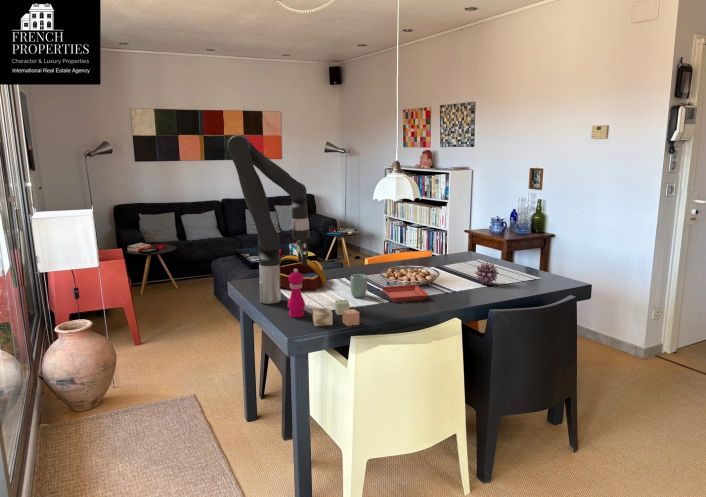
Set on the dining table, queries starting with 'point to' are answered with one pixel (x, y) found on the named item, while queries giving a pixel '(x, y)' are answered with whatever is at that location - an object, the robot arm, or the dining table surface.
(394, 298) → the plant saucer
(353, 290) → the cup
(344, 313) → the terracotta cube
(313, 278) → the decorative basket
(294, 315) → the pepper mill
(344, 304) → the sage cube
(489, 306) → the dining table surface
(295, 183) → the robot arm
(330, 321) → the birch block
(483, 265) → the purple spiky ball
